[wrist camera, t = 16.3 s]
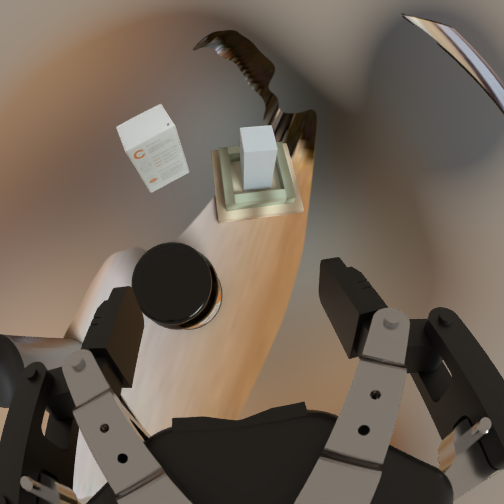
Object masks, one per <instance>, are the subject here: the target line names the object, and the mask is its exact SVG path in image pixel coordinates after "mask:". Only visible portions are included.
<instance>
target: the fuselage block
mask: <svg viewBox="0 0 504 504" xmlns="http://www.w3.org/2000/svg"><path fill="white" fill-rule="evenodd" d="M277 150H278V149H277V145H276V141H275V137H274V133H273V129H272V126H271V125H270V126H256V127H245V128H240V171H241V177H242V184H243V190H244V191H253V190H262V189H270V188H271V183H272V177H273V172H274V167H275V161H276V156H277Z"/></svg>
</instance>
